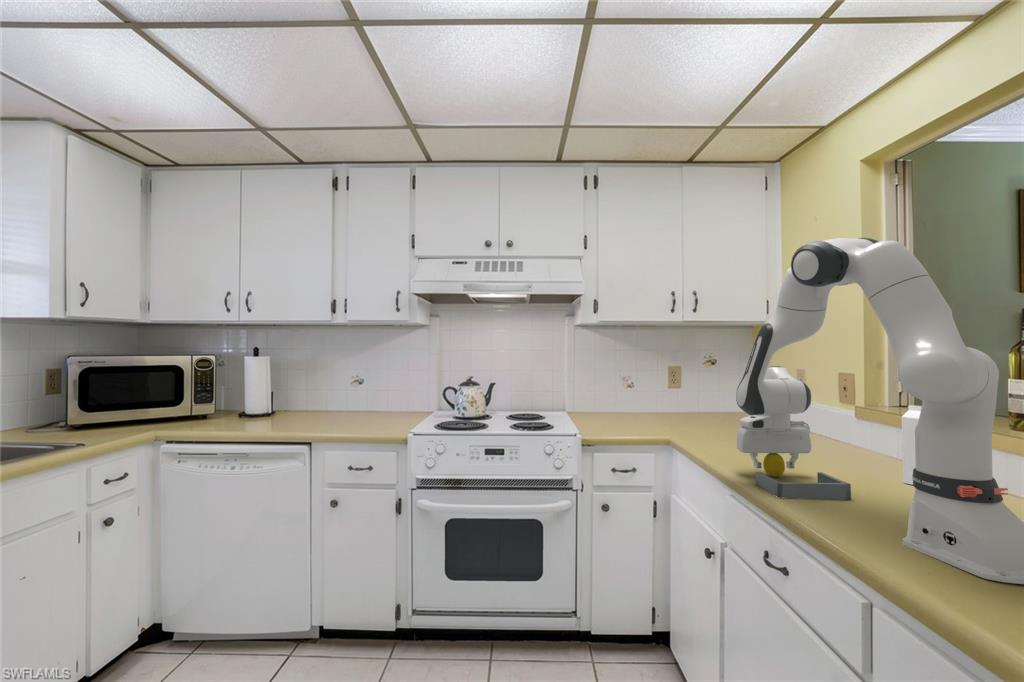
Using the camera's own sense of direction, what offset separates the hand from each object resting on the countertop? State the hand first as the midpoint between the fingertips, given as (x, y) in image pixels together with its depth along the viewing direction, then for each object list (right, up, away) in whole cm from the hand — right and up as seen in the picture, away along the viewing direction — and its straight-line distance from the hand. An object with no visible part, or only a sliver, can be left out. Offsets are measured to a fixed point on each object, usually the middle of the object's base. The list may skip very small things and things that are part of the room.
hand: (774, 468), depth 140 cm
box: (-1, -3, -14) cm, 14 cm away
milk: (+38, -3, -7) cm, 38 cm away
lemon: (0, -3, 0) cm, 3 cm away
